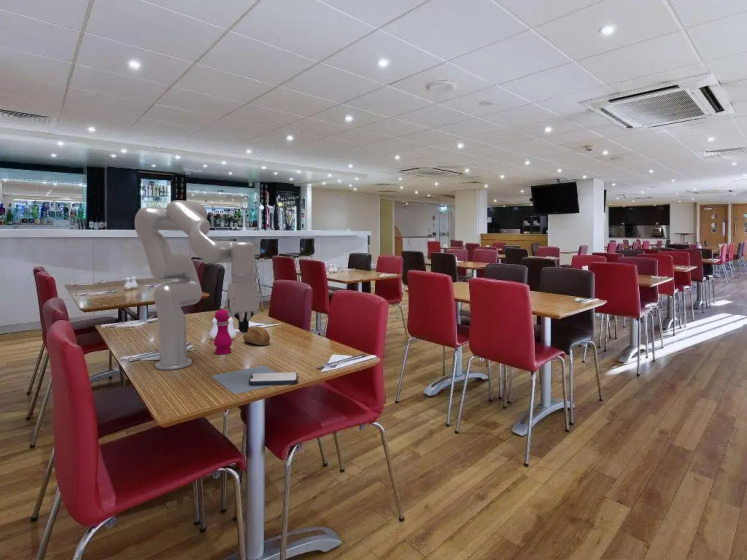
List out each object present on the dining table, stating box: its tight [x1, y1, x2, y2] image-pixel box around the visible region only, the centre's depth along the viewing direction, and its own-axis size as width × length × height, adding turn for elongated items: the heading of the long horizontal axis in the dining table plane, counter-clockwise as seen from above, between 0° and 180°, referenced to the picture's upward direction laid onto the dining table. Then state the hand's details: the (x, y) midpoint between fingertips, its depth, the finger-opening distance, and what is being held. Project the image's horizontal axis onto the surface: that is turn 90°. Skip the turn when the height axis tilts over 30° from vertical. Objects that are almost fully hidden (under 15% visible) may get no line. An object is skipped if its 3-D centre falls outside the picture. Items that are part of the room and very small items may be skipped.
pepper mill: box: [213, 305, 233, 356], centre depth 178 cm, size 7×7×20 cm
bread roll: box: [242, 325, 271, 346], centre depth 194 cm, size 10×15×8 cm, turn 53°
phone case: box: [249, 371, 299, 386], centre depth 145 cm, size 9×2×16 cm
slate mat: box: [211, 365, 279, 395], centre depth 147 cm, size 22×20×1 cm
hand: (243, 332), depth 144 cm, fingers closed
